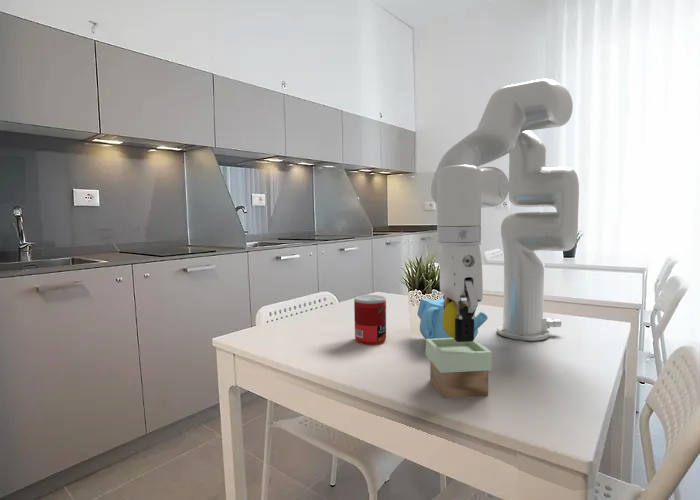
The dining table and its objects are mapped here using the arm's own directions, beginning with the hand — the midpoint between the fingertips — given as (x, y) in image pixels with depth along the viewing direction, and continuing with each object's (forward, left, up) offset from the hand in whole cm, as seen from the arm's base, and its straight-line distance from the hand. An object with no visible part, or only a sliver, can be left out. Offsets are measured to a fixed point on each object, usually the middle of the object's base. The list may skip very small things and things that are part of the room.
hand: (458, 334), depth 75 cm
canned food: (+12, -30, -10) cm, 34 cm away
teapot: (-7, -25, -10) cm, 28 cm away
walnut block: (0, 0, -10) cm, 10 cm away
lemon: (0, 0, -1) cm, 1 cm away
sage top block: (0, 0, -5) cm, 5 cm away
